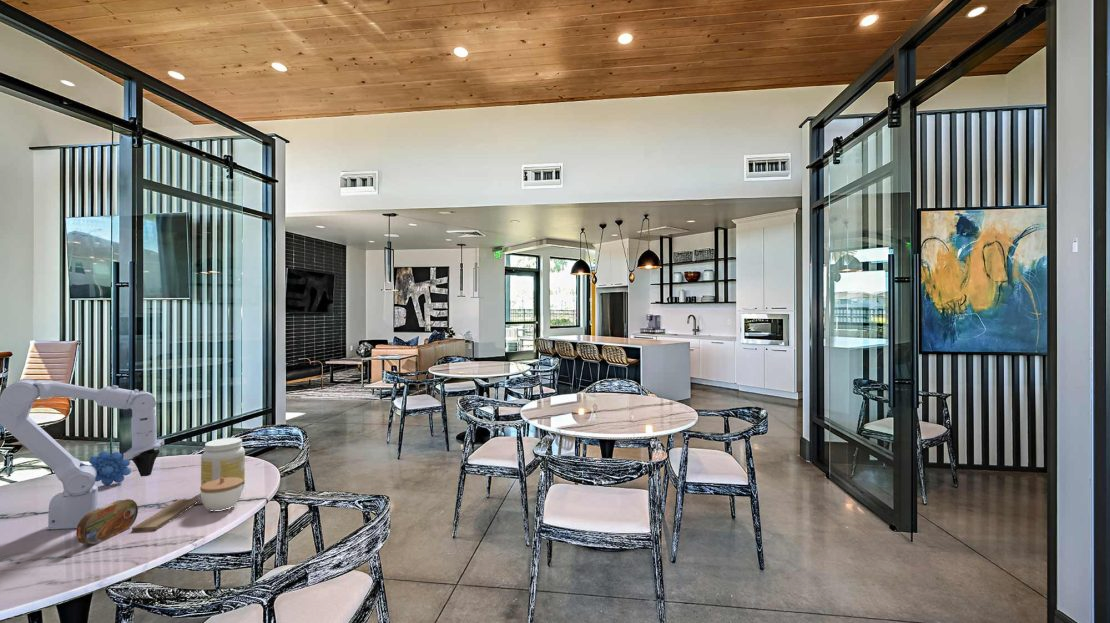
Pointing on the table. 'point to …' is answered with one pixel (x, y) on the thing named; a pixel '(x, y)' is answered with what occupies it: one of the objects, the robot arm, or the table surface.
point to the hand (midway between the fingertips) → (145, 475)
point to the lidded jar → (221, 493)
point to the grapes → (110, 467)
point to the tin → (106, 521)
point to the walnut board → (164, 515)
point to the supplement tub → (223, 460)
